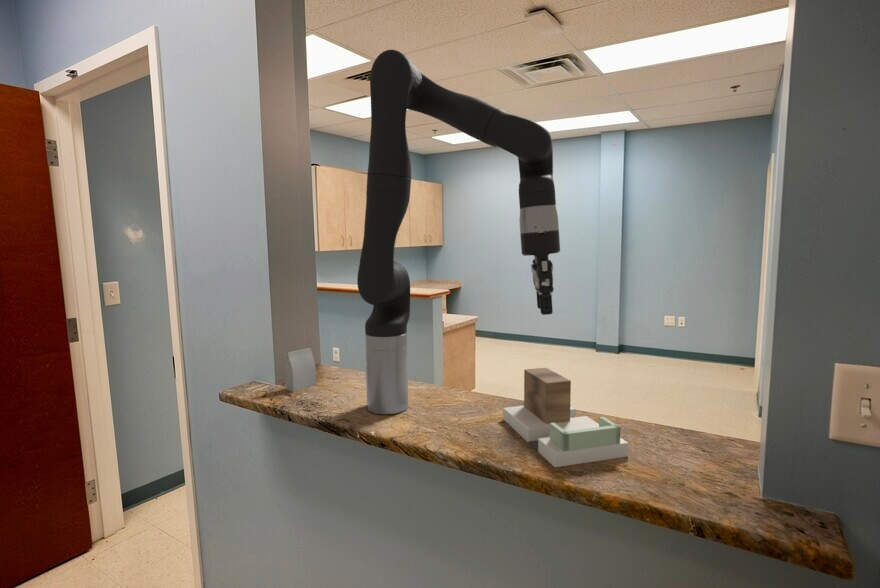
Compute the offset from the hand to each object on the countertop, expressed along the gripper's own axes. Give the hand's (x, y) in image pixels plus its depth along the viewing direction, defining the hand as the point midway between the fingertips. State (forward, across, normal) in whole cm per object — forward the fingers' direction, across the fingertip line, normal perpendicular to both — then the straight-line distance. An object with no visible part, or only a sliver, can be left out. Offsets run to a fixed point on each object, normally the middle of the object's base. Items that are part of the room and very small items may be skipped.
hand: (544, 311), depth 94 cm
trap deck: (+23, +7, +1) cm, 24 cm away
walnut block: (+21, +2, -1) cm, 21 cm away
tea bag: (+19, -18, -62) cm, 67 cm away
